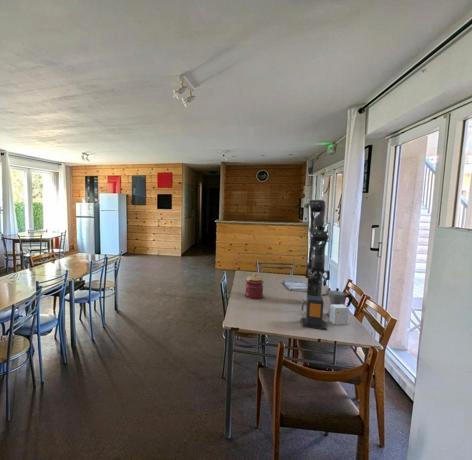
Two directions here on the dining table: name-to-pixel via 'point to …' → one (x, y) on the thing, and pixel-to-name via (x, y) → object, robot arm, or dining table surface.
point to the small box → (339, 314)
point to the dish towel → (295, 285)
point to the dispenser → (314, 313)
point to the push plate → (302, 304)
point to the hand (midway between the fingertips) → (316, 285)
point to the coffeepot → (338, 298)
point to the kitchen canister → (254, 287)
